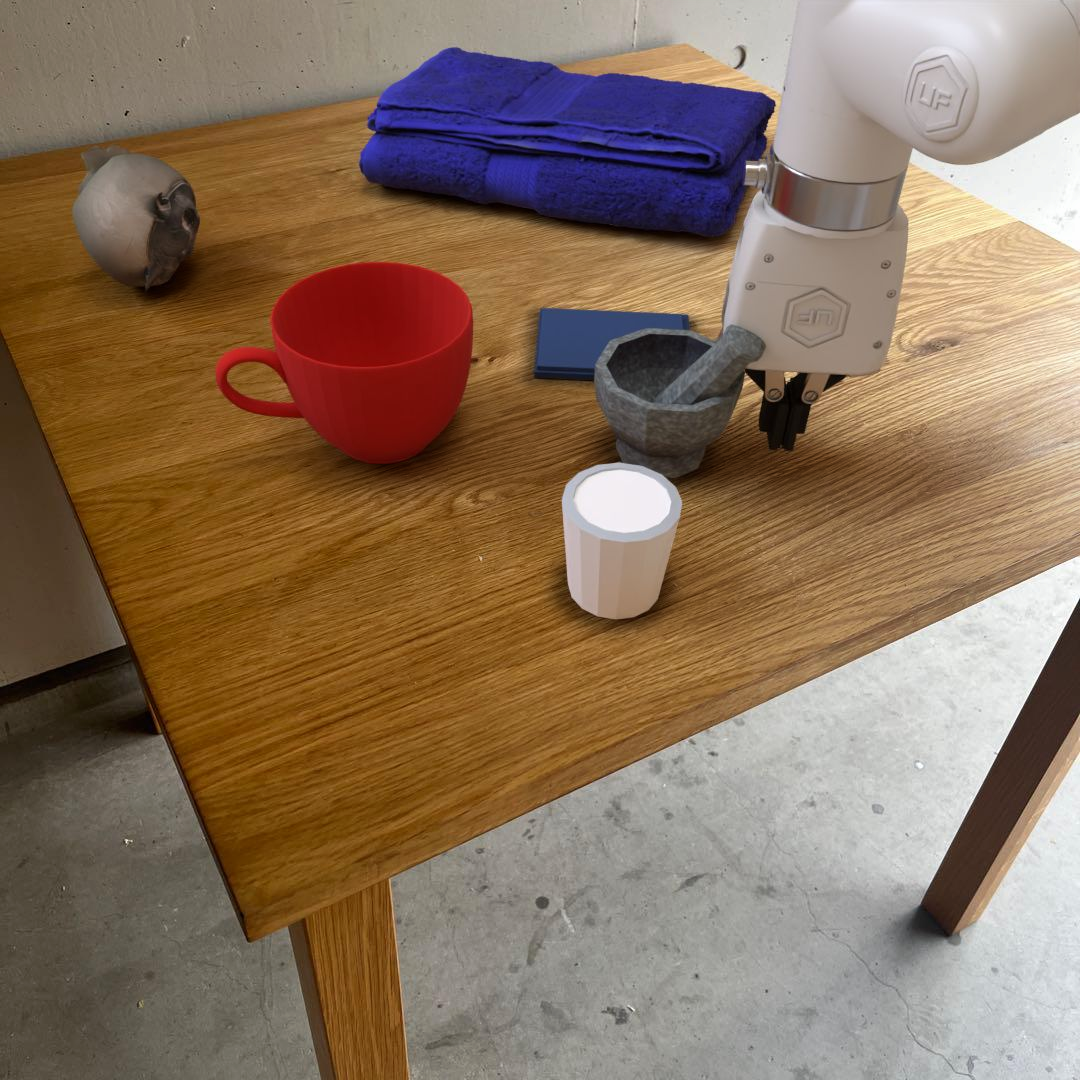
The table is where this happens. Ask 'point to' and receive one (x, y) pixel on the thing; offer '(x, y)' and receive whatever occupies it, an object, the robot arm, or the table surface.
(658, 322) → the blue flat slab
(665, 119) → the towel
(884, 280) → the robot arm
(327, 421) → the ceramic cup
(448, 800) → the table surface
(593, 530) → the beige tapered cup
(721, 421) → the mortar and pestle
